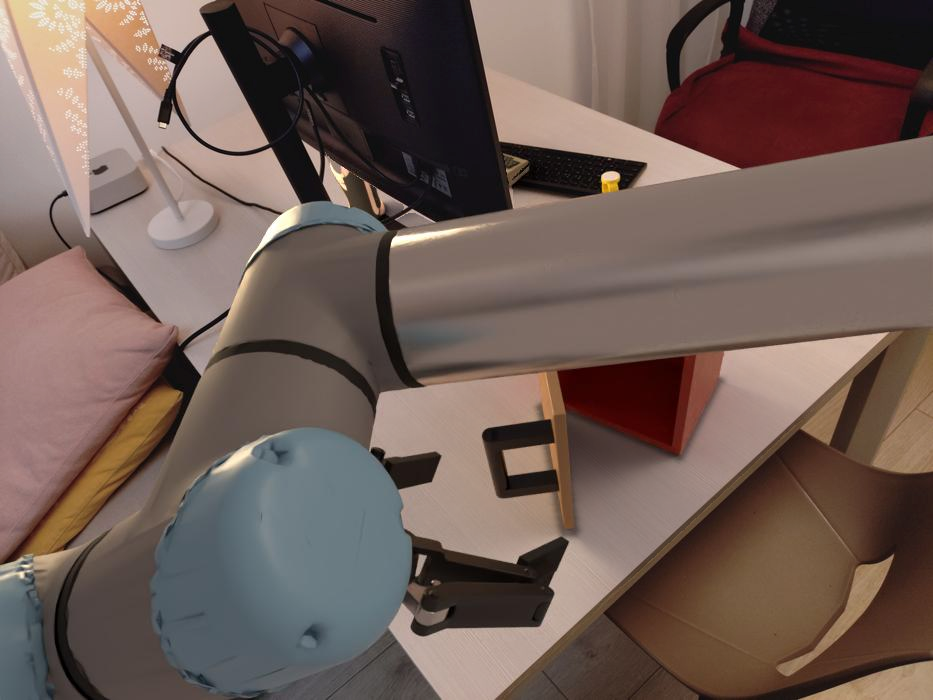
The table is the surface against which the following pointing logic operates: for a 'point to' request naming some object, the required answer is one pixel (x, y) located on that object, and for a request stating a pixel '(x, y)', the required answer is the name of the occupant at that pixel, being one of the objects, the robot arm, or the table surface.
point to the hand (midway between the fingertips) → (492, 507)
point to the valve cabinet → (645, 396)
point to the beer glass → (357, 191)
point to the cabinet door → (534, 435)
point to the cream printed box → (514, 167)
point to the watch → (610, 181)
